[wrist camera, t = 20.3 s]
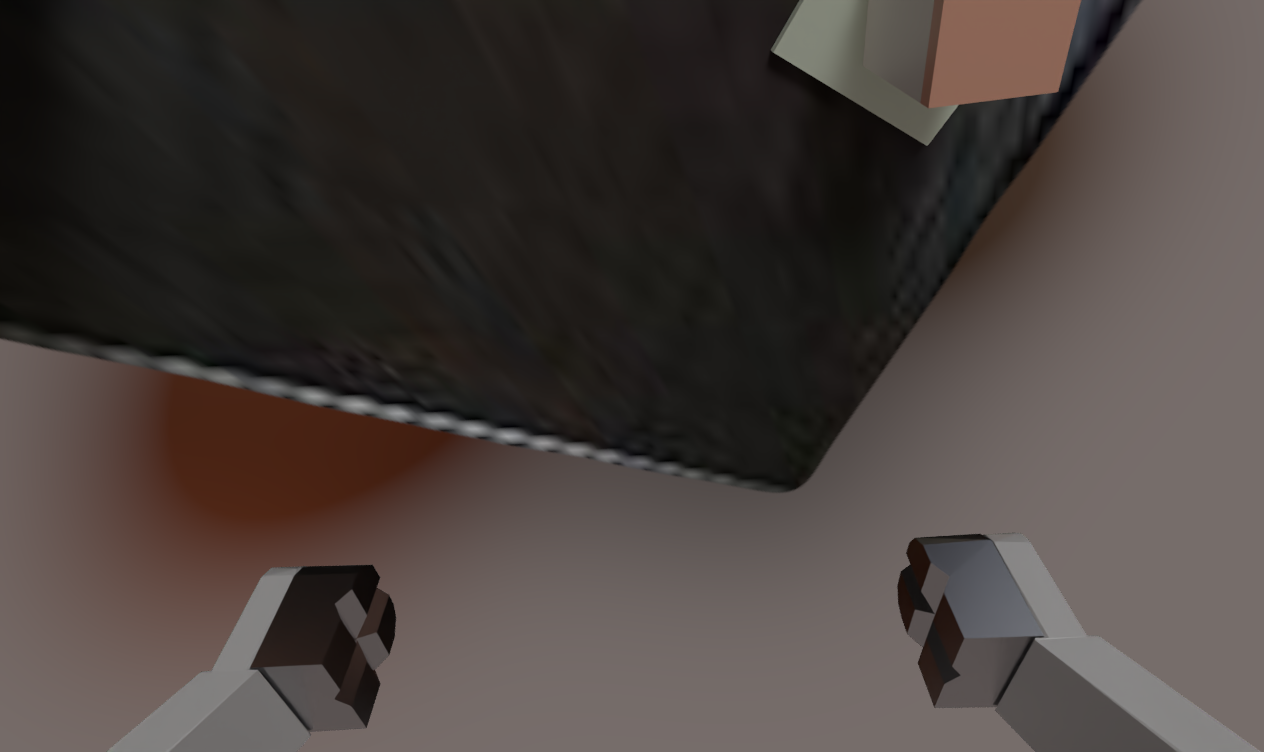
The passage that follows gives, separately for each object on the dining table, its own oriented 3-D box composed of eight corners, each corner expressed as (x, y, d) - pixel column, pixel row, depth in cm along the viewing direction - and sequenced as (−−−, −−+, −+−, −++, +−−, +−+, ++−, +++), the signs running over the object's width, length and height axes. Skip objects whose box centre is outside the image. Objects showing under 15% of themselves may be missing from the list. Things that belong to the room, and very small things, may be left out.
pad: (770, 50, 39) (773, 52, 38) (905, -183, 33) (911, -185, 32) (922, 142, 43) (927, 146, 42) (1070, -53, 36) (1078, -53, 36)
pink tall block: (862, 65, 39) (928, 108, 31) (872, -54, 35) (949, -41, 27) (964, 52, 39) (1057, 91, 31) (984, -69, 35) (1096, -61, 27)
